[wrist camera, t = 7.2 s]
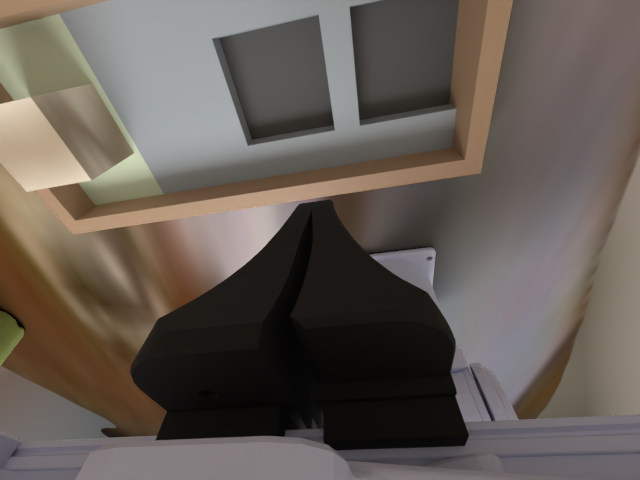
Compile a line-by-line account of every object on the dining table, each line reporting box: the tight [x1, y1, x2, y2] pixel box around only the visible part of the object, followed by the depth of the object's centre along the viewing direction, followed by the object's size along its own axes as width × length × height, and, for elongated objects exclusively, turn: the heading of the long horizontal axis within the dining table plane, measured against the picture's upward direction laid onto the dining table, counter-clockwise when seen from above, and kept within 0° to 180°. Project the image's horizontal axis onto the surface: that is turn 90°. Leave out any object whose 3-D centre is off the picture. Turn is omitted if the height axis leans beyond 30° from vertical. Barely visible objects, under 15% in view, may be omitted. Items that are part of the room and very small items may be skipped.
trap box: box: [0, 0, 513, 234], centre depth 15 cm, size 12×27×4 cm, turn 100°
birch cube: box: [0, 83, 134, 192], centre depth 15 cm, size 4×4×4 cm
